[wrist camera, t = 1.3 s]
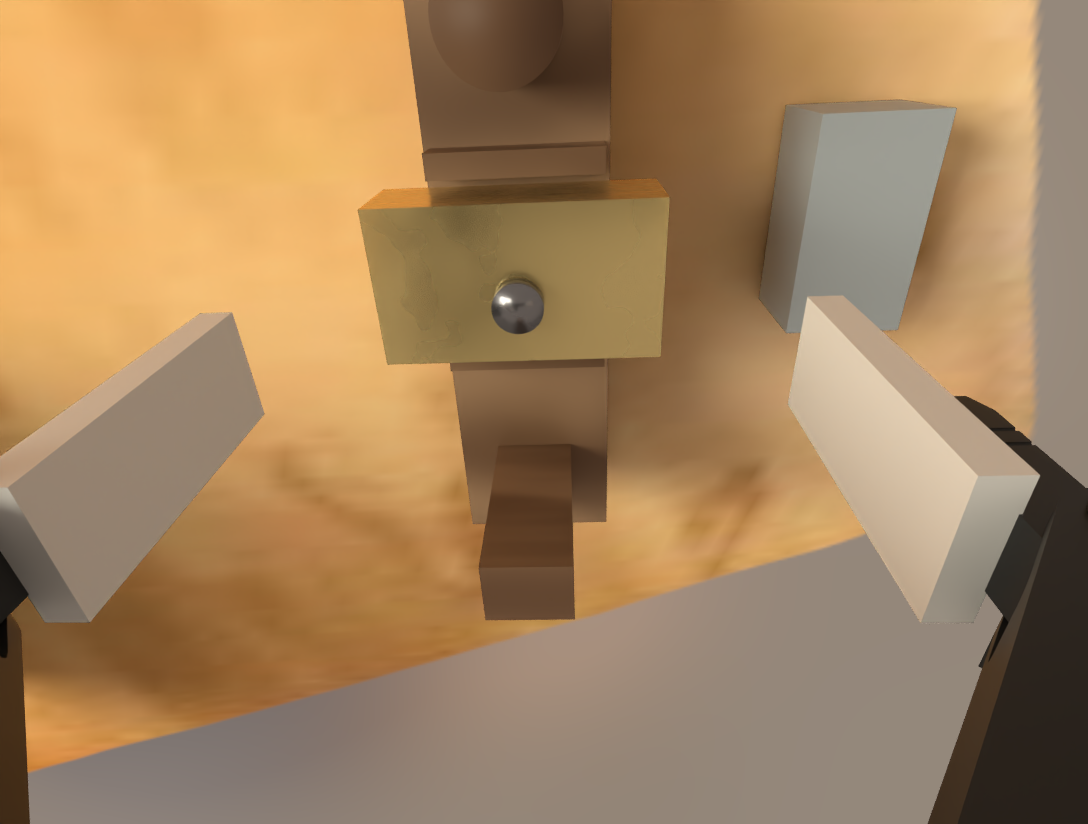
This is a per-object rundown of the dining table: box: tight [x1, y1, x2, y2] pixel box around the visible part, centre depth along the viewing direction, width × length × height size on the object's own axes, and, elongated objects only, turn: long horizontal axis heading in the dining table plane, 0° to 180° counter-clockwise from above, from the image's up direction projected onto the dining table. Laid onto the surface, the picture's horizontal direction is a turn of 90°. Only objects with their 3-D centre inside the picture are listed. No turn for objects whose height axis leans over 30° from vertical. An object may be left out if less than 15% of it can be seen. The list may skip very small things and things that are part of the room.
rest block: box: [759, 100, 957, 333], centre depth 24 cm, size 4×8×4 cm, turn 2°
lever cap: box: [358, 178, 670, 365], centre depth 20 cm, size 5×9×4 cm, turn 93°
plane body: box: [403, 0, 612, 620], centre depth 22 cm, size 24×6×13 cm, turn 2°
